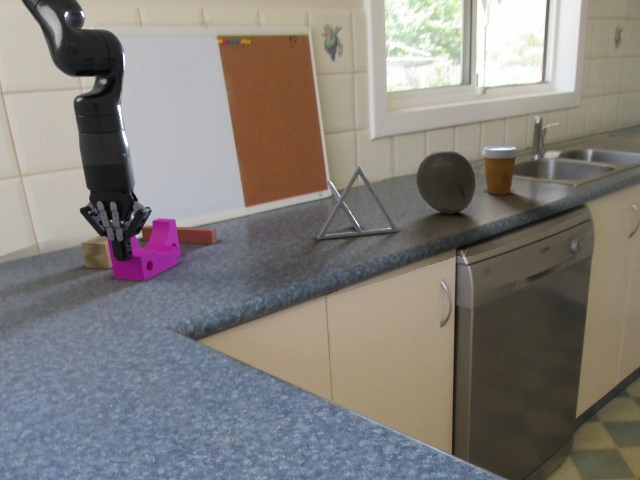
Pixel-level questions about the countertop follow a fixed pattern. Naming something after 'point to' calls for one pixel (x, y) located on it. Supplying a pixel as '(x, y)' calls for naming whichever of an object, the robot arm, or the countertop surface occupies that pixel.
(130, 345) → the countertop surface
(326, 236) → the wire frame
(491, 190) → the disposable coffee cup
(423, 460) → the countertop surface
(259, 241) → the countertop surface
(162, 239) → the toy block
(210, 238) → the rail
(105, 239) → the beech cube
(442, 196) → the dark grey ball
